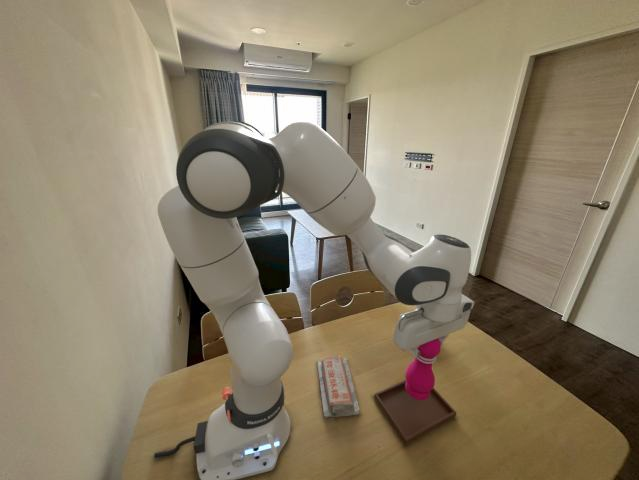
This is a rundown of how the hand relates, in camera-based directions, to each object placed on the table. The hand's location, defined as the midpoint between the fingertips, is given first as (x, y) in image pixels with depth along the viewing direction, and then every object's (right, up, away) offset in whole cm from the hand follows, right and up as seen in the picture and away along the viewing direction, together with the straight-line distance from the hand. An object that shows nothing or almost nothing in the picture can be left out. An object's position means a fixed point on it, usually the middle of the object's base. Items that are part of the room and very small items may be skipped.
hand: (426, 349), depth 62 cm
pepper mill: (0, -13, +5) cm, 14 cm away
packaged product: (-21, -17, +14) cm, 31 cm away
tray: (0, -20, +8) cm, 21 cm away
